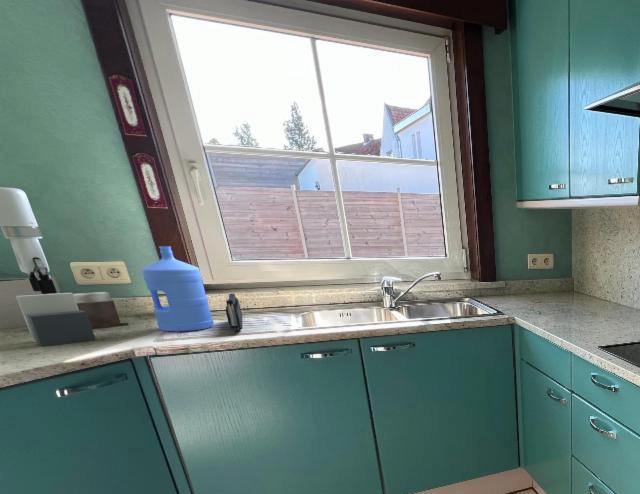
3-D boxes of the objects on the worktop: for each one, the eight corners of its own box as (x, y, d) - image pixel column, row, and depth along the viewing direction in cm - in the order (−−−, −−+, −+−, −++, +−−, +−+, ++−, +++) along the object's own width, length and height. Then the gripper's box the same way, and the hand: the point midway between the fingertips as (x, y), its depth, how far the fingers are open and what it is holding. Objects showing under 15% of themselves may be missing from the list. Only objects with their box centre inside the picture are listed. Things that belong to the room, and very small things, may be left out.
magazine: (227, 296, 191) (218, 280, 166) (237, 295, 193) (230, 280, 168) (237, 340, 194) (230, 331, 168) (247, 339, 195) (241, 330, 170)
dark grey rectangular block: (42, 346, 148) (30, 316, 144) (38, 344, 150) (26, 314, 146) (96, 340, 157) (86, 311, 154) (91, 338, 159) (81, 310, 156)
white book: (35, 342, 152) (17, 296, 146) (33, 341, 153) (15, 296, 147) (88, 336, 161) (72, 293, 156) (86, 335, 162) (71, 292, 157)
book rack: (75, 330, 168) (63, 298, 164) (65, 326, 174) (54, 294, 170) (128, 325, 179) (118, 294, 175) (117, 321, 185) (107, 291, 181)
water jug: (215, 322, 188) (195, 245, 177) (213, 330, 176) (191, 247, 165) (162, 325, 180) (138, 245, 169) (156, 333, 167) (129, 247, 157)
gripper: (-3, 232, 147) (21, 291, 153) (10, 234, 138) (34, 296, 144) (33, 232, 152) (55, 289, 159) (48, 234, 144) (70, 293, 150)
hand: (45, 292), depth 151 cm, fingers open, 9 cm apart
